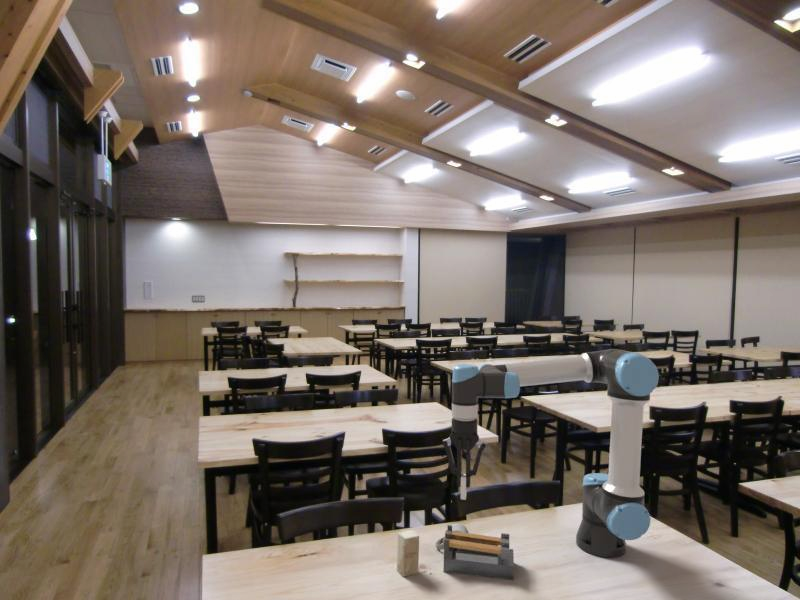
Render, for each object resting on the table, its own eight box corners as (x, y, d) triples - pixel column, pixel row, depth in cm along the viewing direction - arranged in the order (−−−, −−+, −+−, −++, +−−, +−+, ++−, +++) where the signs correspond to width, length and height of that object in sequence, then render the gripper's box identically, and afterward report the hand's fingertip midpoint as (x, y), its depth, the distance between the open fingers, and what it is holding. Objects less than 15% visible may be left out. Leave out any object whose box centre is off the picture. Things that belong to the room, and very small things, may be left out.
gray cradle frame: (513, 562, 159) (513, 534, 159) (513, 580, 149) (514, 550, 149) (447, 554, 163) (447, 527, 163) (443, 571, 153) (444, 542, 153)
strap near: (508, 552, 153) (508, 546, 153) (508, 556, 151) (508, 550, 151) (443, 543, 157) (443, 537, 157) (442, 546, 154) (442, 540, 154)
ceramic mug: (469, 544, 170) (469, 520, 170) (468, 557, 162) (468, 532, 162) (436, 542, 172) (436, 518, 172) (434, 554, 164) (434, 530, 164)
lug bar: (455, 543, 163) (455, 525, 163) (452, 559, 153) (452, 540, 153) (447, 542, 163) (447, 524, 163) (443, 558, 153) (444, 539, 153)
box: (403, 577, 150) (403, 538, 150) (396, 570, 154) (396, 532, 154) (419, 572, 153) (419, 535, 152) (412, 565, 156) (412, 529, 156)
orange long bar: (508, 543, 158) (508, 537, 158) (508, 547, 156) (508, 541, 156) (445, 534, 162) (445, 529, 162) (444, 538, 160) (445, 532, 160)
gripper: (487, 416, 156) (486, 494, 157) (443, 413, 159) (442, 491, 159) (486, 422, 149) (485, 504, 149) (440, 419, 152) (439, 500, 152)
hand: (463, 497), depth 154 cm, fingers closed
